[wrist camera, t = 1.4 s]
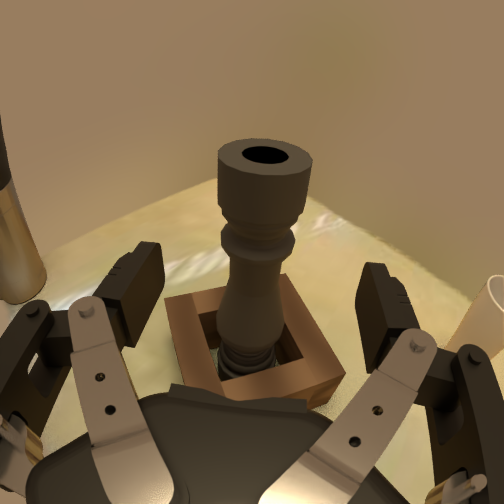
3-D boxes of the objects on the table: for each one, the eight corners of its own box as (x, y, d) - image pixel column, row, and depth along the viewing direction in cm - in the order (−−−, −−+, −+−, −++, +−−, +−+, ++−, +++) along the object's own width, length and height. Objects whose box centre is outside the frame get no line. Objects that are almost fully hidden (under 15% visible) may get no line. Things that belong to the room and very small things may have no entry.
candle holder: (234, 340, 38) (244, 131, 22) (281, 362, 36) (329, 152, 20) (207, 379, 33) (191, 160, 17) (257, 404, 31) (295, 189, 15)
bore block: (202, 442, 27) (195, 420, 23) (172, 336, 37) (164, 298, 33) (327, 402, 32) (346, 373, 27) (278, 311, 42) (285, 273, 37)
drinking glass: (452, 348, 37) (508, 270, 27) (473, 386, 32) (540, 312, 22) (418, 360, 36) (476, 278, 26) (439, 403, 31) (512, 327, 21)
